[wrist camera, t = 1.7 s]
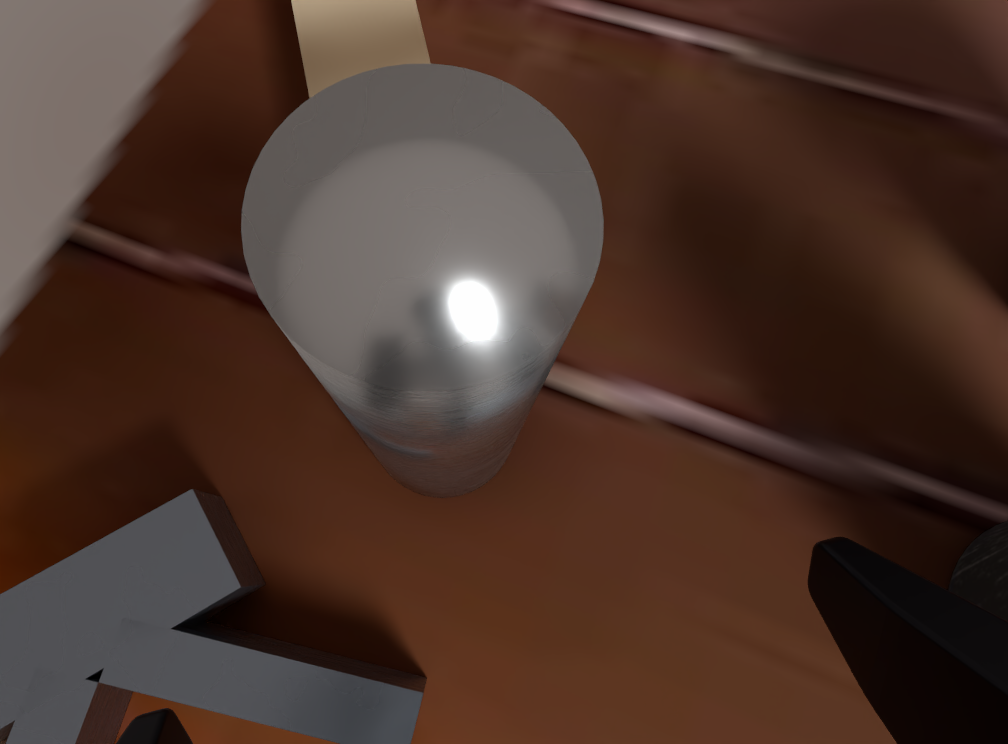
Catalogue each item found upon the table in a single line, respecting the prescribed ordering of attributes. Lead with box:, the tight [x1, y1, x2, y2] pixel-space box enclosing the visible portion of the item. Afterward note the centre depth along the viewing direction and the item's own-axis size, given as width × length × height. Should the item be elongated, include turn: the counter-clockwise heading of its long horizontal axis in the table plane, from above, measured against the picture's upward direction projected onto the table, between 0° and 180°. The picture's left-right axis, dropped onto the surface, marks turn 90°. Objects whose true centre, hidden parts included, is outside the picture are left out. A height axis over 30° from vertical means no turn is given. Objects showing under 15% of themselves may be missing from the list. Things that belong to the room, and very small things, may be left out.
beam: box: [291, 0, 431, 98], centre depth 24 cm, size 12×4×3 cm, turn 13°
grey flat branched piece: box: [0, 489, 427, 744], centre depth 18 cm, size 9×14×2 cm, turn 121°
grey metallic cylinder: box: [241, 64, 604, 498], centre depth 16 cm, size 5×5×14 cm
